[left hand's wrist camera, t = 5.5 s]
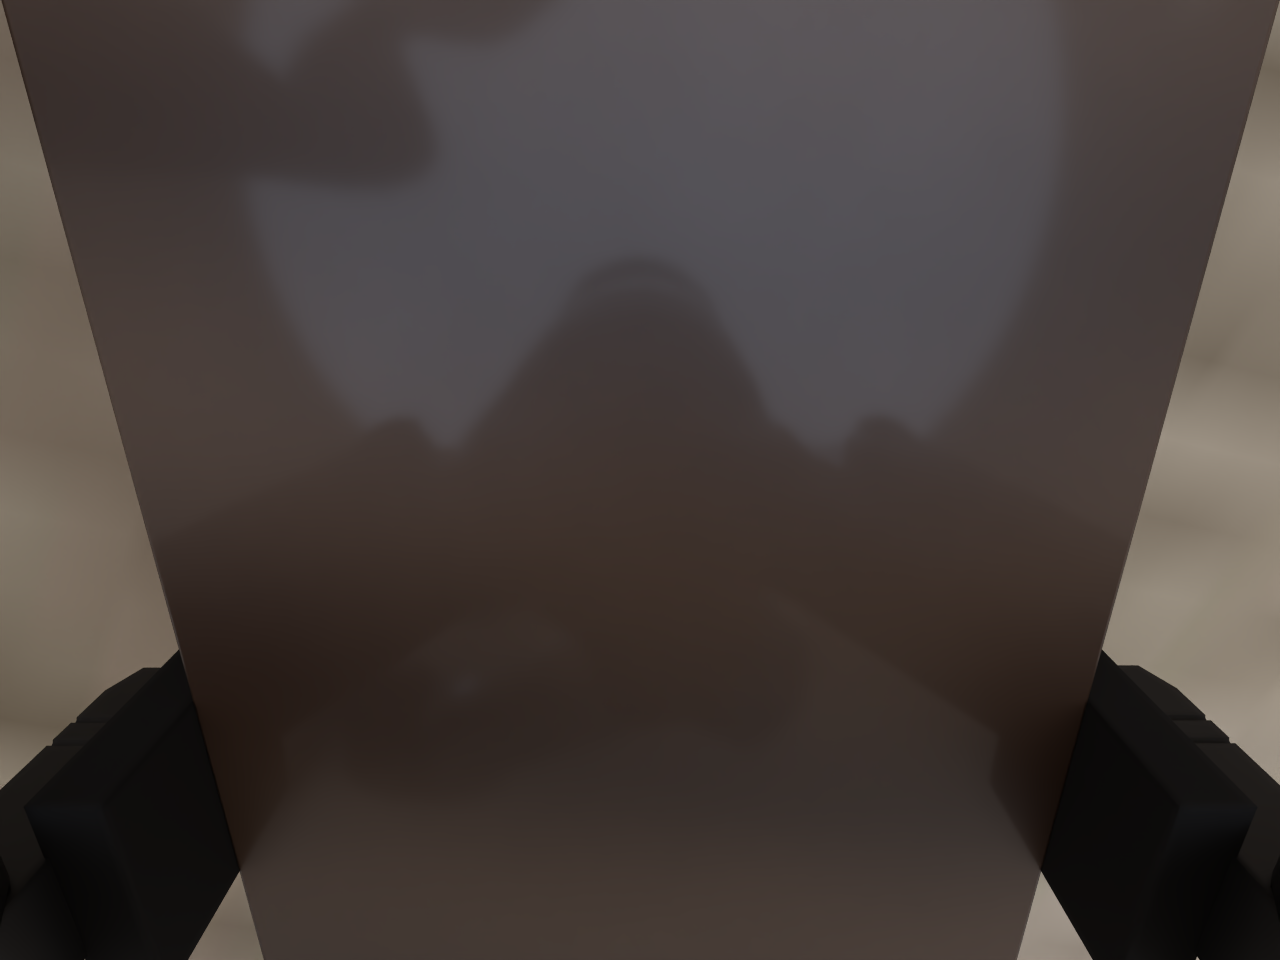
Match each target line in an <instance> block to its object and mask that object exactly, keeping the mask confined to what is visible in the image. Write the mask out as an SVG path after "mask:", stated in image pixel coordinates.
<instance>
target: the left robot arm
mask: <svg viewBox="0 0 1280 960" xmlns="http://www.w3.org/2000/svg"><path fill="white" fill-rule="evenodd" d="M239 871H240V870H239V867H238V863H237V859H236V856H235V852H234V848H233V845H232V841H231V837H230V834H229V830H228V826H227V823H226V819H225V815H224V812H223V808H222V804H221V801H220V797H219V794H218V790H217V786H216V783H215V779H214V775H213V772H212V768H211V764H210V761H209V757H208V753H207V750H206V746H205V742H204V739H203V735H202V731H201V728H200V724H199V720H198V717H197V713H196V709H195V706H194V702H193V698H192V695H191V691H190V687H189V684H188V680H187V677H186V673H185V669H184V666H183V662H182V658H181V655H180V651H179V650H178V651H177V652H176V653H175V654H174V655H173V656H172V657H171V658H170V659H169V660H168V661H167V662H166V663H165V664H164V665H163V666H162V667H161V668H142V669H141V670H139V671H137V672H136V673H134V674H132V675H131V676H129V677H127V678H125V679H124V680H122V681H120V682H119V683H117V684H115V685H114V686H112V687H110V688H109V689H107V690H105V691H104V692H103V693H102V694H101V695H100V696H99V697H98V698H97V699H96V700H95V701H94V702H92V703H91V704H90V705H89V706H88V707H87V708H86V709H85V710H84V711H83V712H82V713H81V714H80V715H79V716H78V717H77V721H76V723H70V724H69V725H68V726H67V727H66V728H65V729H64V730H63V731H62V732H61V733H60V734H59V735H58V736H57V737H56V738H54V739H53V744H52V746H46V747H45V748H44V749H43V750H42V751H41V752H40V753H39V754H38V755H37V756H35V757H34V758H33V759H32V760H31V761H30V762H29V763H28V764H27V765H26V766H25V767H24V768H23V769H22V770H21V771H20V772H19V773H18V774H16V775H15V776H14V777H13V778H12V779H11V780H10V781H9V782H8V783H7V784H6V785H5V786H4V787H3V788H2V789H1V790H0V960H84V959H85V960H188V959H189V957H190V955H191V954H192V952H193V950H194V948H195V947H196V945H197V943H198V942H199V940H200V938H201V936H202V935H203V933H204V931H205V930H206V928H207V926H208V924H209V923H210V921H211V919H212V918H213V916H214V914H215V912H216V911H217V909H218V907H219V906H220V904H221V902H222V900H223V899H224V897H225V895H226V894H227V892H228V890H229V888H230V887H231V885H232V883H233V882H234V880H235V878H236V876H237V875H238V873H239ZM1041 872H1042V873H1043V875H1044V877H1045V879H1046V880H1047V882H1048V884H1049V885H1050V887H1051V889H1052V891H1053V892H1054V894H1055V896H1056V897H1057V899H1058V901H1059V903H1060V904H1061V906H1062V908H1063V909H1064V911H1065V913H1066V915H1067V916H1068V918H1069V920H1070V921H1071V923H1072V925H1073V927H1074V928H1075V930H1076V932H1077V933H1078V935H1079V937H1080V939H1081V940H1082V942H1083V944H1084V945H1085V947H1086V949H1087V951H1088V952H1089V954H1090V956H1091V957H1092V959H1093V960H1196V958H1197V957H1198V958H1199V960H1280V785H1279V784H1278V783H1277V782H1276V781H1275V780H1274V779H1273V778H1272V777H1270V776H1269V775H1268V774H1267V773H1266V772H1265V771H1264V770H1263V769H1262V768H1261V767H1260V766H1259V765H1258V764H1257V763H1256V762H1255V761H1253V760H1252V759H1251V758H1250V757H1249V756H1248V755H1247V754H1246V753H1245V752H1244V751H1243V750H1242V749H1241V748H1240V747H1239V746H1238V745H1236V744H1235V743H1230V742H1229V737H1228V736H1227V735H1226V734H1225V733H1224V732H1223V731H1222V730H1221V729H1219V728H1218V727H1217V726H1216V725H1215V724H1214V723H1213V722H1212V721H1211V720H1206V719H1205V714H1204V713H1202V712H1201V711H1200V710H1199V709H1198V708H1197V707H1196V706H1195V705H1194V704H1193V703H1192V702H1191V701H1190V700H1189V699H1188V698H1187V697H1185V696H1184V695H1183V694H1182V693H1181V692H1180V691H1179V690H1178V689H1177V688H1175V687H1174V686H1172V685H1170V684H1169V683H1167V682H1165V681H1164V680H1162V679H1160V678H1158V677H1157V676H1155V675H1153V674H1152V673H1150V672H1148V671H1147V670H1145V669H1143V668H1141V667H1140V666H1131V665H1117V664H1116V663H1115V662H1114V661H1113V660H1112V659H1111V658H1110V657H1109V656H1108V655H1107V654H1106V653H1105V652H1104V651H1103V650H1101V654H1100V658H1099V661H1098V665H1097V668H1096V672H1095V676H1094V679H1093V683H1092V687H1091V690H1090V694H1089V698H1088V701H1087V705H1086V709H1085V712H1084V716H1083V720H1082V723H1081V727H1080V731H1079V734H1078V738H1077V742H1076V745H1075V749H1074V752H1073V756H1072V760H1071V763H1070V767H1069V771H1068V774H1067V778H1066V782H1065V785H1064V789H1063V793H1062V796H1061V800H1060V804H1059V807H1058V811H1057V815H1056V818H1055V822H1054V826H1053V829H1052V833H1051V836H1050V840H1049V844H1048V847H1047V851H1046V855H1045V858H1044V862H1043V866H1042V869H1041Z"/></svg>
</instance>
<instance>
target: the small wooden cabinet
mask: <svg viewBox="0 0 1280 960" xmlns="http://www.w3.org/2000/svg"><path fill="white" fill-rule="evenodd" d="M2 4H3V8H4V11H5V15H6V18H7V22H8V26H9V29H10V33H11V37H12V40H13V44H14V48H15V51H16V55H17V59H18V62H19V66H20V70H21V73H22V77H23V81H24V84H25V88H26V92H27V95H28V99H29V103H30V106H31V110H32V114H33V117H34V121H35V124H36V128H37V132H38V135H39V139H40V143H41V146H42V150H43V154H44V157H45V161H46V165H47V168H48V172H49V176H50V179H51V183H52V187H53V190H54V194H55V198H56V201H57V205H58V209H59V212H60V216H61V220H62V223H63V227H64V231H65V234H66V238H67V241H68V245H69V249H70V252H71V256H72V260H73V263H74V267H75V271H76V274H77V278H78V282H79V285H80V289H81V293H82V296H83V300H84V304H85V307H86V311H87V315H88V318H89V322H90V326H91V329H92V333H93V337H94V340H95V344H96V347H97V351H98V355H99V358H100V362H101V366H102V369H103V373H104V377H105V380H106V384H107V388H108V391H109V395H110V399H111V402H112V406H113V410H114V413H115V417H116V421H117V424H118V428H119V432H120V435H121V439H122V443H123V446H124V450H125V454H126V457H127V461H128V464H129V468H130V472H131V475H132V479H133V483H134V486H135V490H136V494H137V497H138V501H139V505H140V508H141V512H142V516H143V519H144V523H145V527H146V530H147V534H148V538H149V541H150V545H151V549H152V552H153V556H154V560H155V563H156V567H157V571H158V574H159V578H160V581H161V585H162V589H163V592H164V596H165V600H166V603H167V607H168V611H169V614H170V618H171V622H172V625H173V629H174V633H175V636H176V640H177V644H178V647H179V651H180V655H181V658H182V662H183V666H184V669H185V673H186V677H187V680H188V684H189V687H190V691H191V695H192V698H193V702H194V706H195V709H196V713H197V717H198V720H199V724H200V728H201V731H202V735H203V739H204V742H205V746H206V750H207V753H208V757H209V761H210V764H211V768H212V772H213V775H214V779H215V783H216V786H217V790H218V794H219V797H220V801H221V804H222V808H223V812H224V815H225V819H226V823H227V826H228V830H229V834H230V837H231V841H232V845H233V848H234V852H235V856H236V859H237V863H238V867H239V870H240V874H241V878H242V881H243V885H244V889H245V892H246V896H247V900H248V903H249V907H250V910H251V914H252V918H253V921H254V925H255V929H256V932H257V936H258V940H259V943H260V947H261V951H262V954H263V958H264V960H1017V957H1018V953H1019V950H1020V946H1021V942H1022V939H1023V935H1024V931H1025V928H1026V924H1027V920H1028V917H1029V913H1030V910H1031V906H1032V902H1033V899H1034V895H1035V891H1036V888H1037V884H1038V880H1039V877H1040V873H1041V869H1042V866H1043V862H1044V858H1045V855H1046V851H1047V847H1048V844H1049V840H1050V836H1051V833H1052V829H1053V826H1054V822H1055V818H1056V815H1057V811H1058V807H1059V804H1060V800H1061V796H1062V793H1063V789H1064V785H1065V782H1066V778H1067V774H1068V771H1069V767H1070V763H1071V760H1072V756H1073V752H1074V749H1075V745H1076V742H1077V738H1078V734H1079V731H1080V727H1081V723H1082V720H1083V716H1084V712H1085V709H1086V705H1087V701H1088V698H1089V694H1090V690H1091V687H1092V683H1093V679H1094V676H1095V672H1096V668H1097V665H1098V661H1099V658H1100V654H1101V650H1102V647H1103V643H1104V639H1105V636H1106V632H1107V628H1108V625H1109V621H1110V617H1111V614H1112V610H1113V606H1114V603H1115V599H1116V595H1117V592H1118V588H1119V584H1120V581H1121V577H1122V574H1123V570H1124V566H1125V563H1126V559H1127V555H1128V552H1129V548H1130V544H1131V541H1132V537H1133V533H1134V530H1135V526H1136V522H1137V519H1138V515H1139V511H1140V508H1141V504H1142V500H1143V497H1144V493H1145V490H1146V486H1147V482H1148V479H1149V475H1150V471H1151V468H1152V464H1153V460H1154V457H1155V453H1156V449H1157V446H1158V442H1159V438H1160V435H1161V431H1162V427H1163V424H1164V420H1165V416H1166V413H1167V409H1168V406H1169V402H1170V398H1171V395H1172V391H1173V387H1174V384H1175V380H1176V376H1177V373H1178V369H1179V365H1180V362H1181V358H1182V354H1183V351H1184V347H1185V343H1186V340H1187V336H1188V332H1189V329H1190V325H1191V322H1192V318H1193V314H1194V311H1195V307H1196V303H1197V300H1198V296H1199V292H1200V289H1201V285H1202V281H1203V278H1204V274H1205V270H1206V267H1207V263H1208V259H1209V256H1210V252H1211V248H1212V245H1213V241H1214V238H1215V234H1216V230H1217V227H1218V223H1219V219H1220V216H1221V212H1222V208H1223V205H1224V201H1225V197H1226V194H1227V190H1228V186H1229V183H1230V179H1231V175H1232V172H1233V168H1234V164H1235V161H1236V157H1237V154H1238V150H1239V146H1240V143H1241V139H1242V135H1243V132H1244V128H1245V124H1246V121H1247V117H1248V113H1249V110H1250V106H1251V102H1252V99H1253V95H1254V91H1255V88H1256V84H1257V80H1258V77H1259V73H1260V70H1261V66H1262V62H1263V59H1264V55H1265V51H1266V48H1267V44H1268V40H1269V37H1270V33H1271V29H1272V26H1273V22H1274V18H1275V15H1276V11H1277V7H1278V4H1279V0H2Z"/></svg>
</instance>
